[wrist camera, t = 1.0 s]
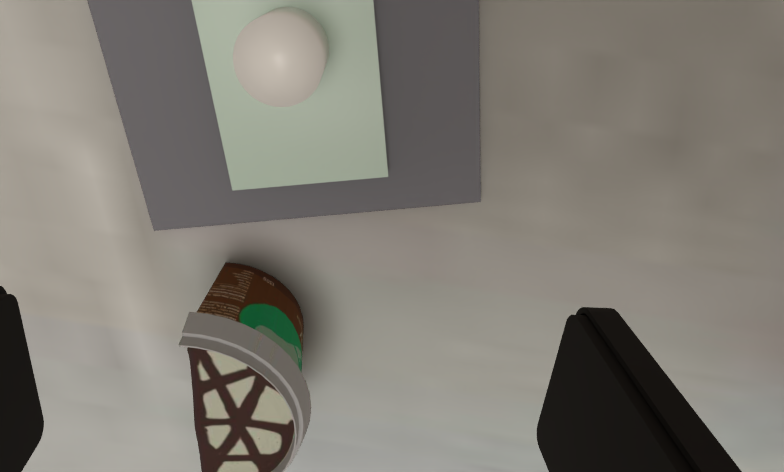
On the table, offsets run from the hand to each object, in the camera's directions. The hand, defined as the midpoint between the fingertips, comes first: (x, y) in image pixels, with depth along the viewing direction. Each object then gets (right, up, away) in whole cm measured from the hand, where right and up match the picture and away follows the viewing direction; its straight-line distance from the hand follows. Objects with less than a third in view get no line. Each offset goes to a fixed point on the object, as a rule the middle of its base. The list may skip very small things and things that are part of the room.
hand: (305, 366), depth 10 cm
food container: (-6, -4, +29) cm, 30 cm away
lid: (-4, +12, +20) cm, 24 cm away
